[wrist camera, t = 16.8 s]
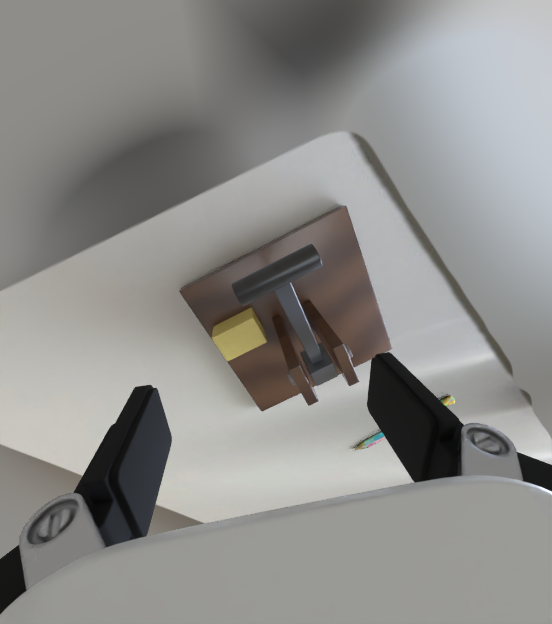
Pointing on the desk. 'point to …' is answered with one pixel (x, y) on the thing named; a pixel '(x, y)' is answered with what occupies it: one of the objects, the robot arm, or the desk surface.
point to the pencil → (380, 436)
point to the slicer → (316, 306)
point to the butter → (239, 334)
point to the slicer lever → (290, 304)
